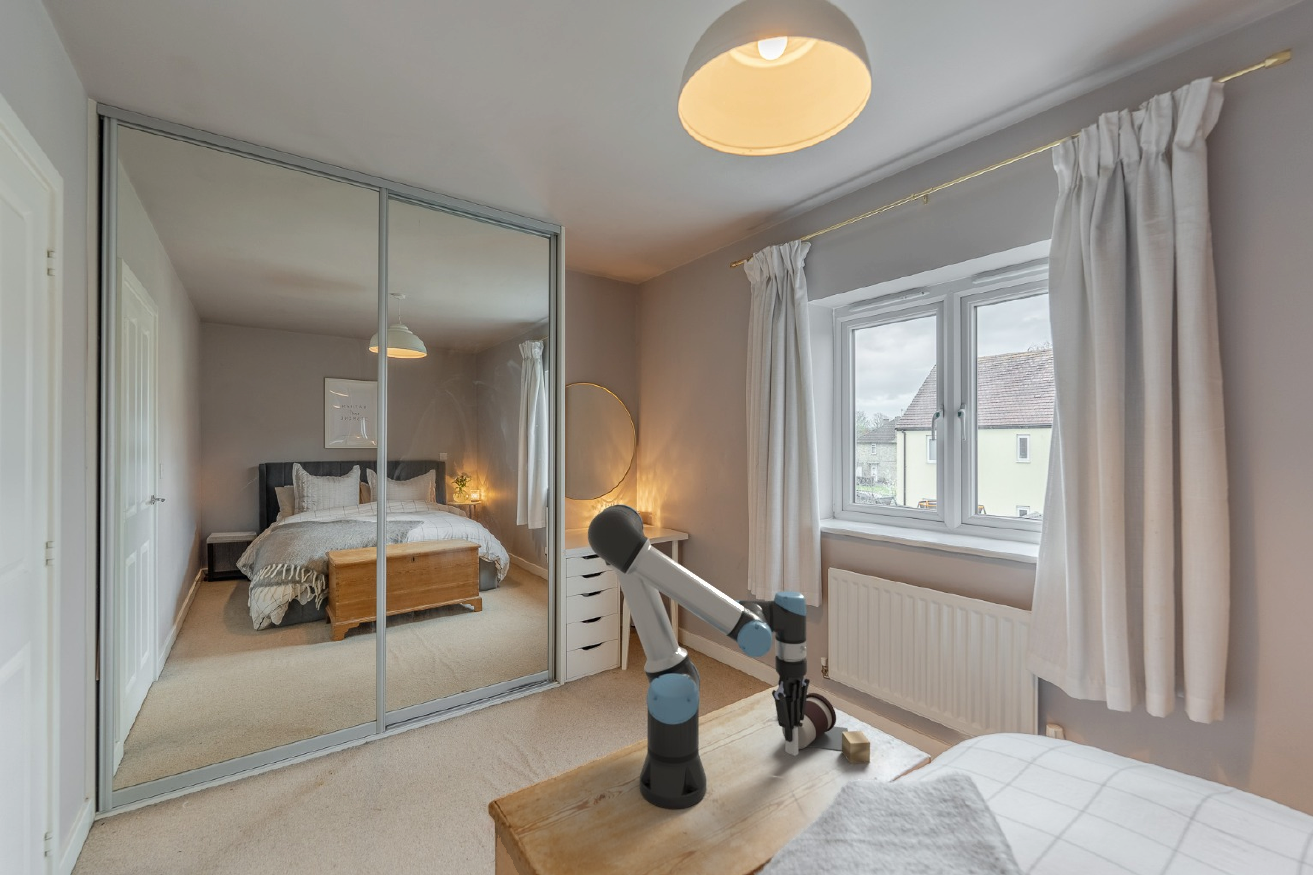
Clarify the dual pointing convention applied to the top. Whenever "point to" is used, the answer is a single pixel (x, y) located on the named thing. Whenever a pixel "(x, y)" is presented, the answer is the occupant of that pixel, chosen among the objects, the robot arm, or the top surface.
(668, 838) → the top surface
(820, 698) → the coffee cup
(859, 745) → the oak block
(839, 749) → the display mat
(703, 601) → the robot arm
